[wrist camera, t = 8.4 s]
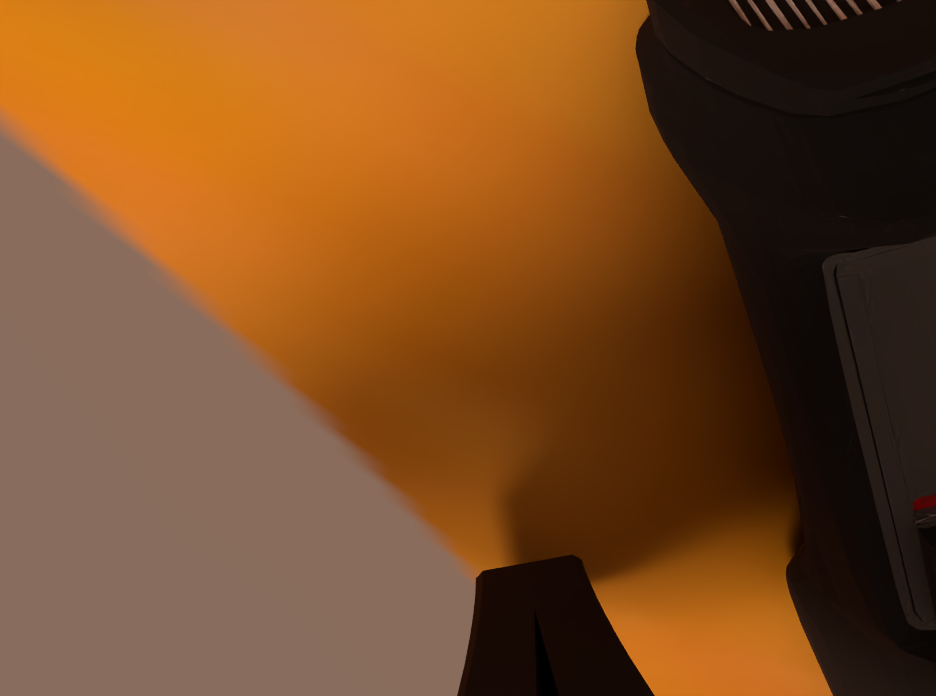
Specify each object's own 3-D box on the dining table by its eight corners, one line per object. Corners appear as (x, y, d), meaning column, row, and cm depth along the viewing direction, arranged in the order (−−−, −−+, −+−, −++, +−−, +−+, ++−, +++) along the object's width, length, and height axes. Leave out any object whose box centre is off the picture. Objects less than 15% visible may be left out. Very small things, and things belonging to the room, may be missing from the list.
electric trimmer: (818, 773, 17) (897, 959, 14) (593, -42, 9) (680, 35, 6) (1018, 719, 16) (1140, 901, 14) (979, -200, 8) (1259, -195, 6)
